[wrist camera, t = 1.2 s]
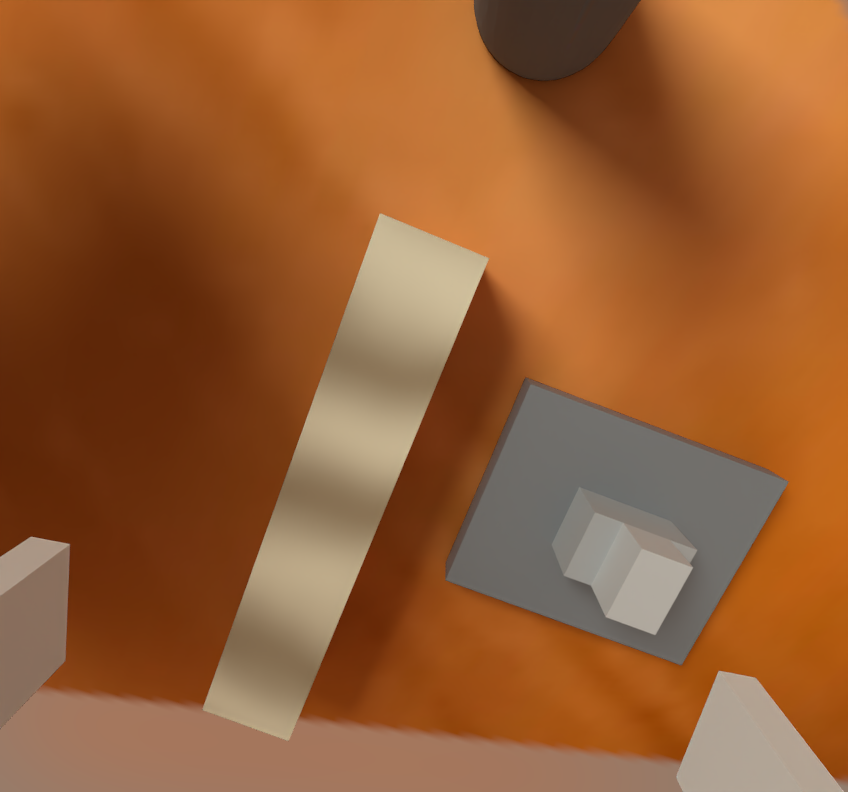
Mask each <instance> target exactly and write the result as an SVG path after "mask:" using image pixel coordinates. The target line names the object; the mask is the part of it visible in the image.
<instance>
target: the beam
mask: <svg viewBox="0 0 848 792" xmlns="http://www.w3.org/2000/svg"><path fill="white" fill-rule="evenodd" d="M488 259H489V258H487V257H485V256H482V255H480V254H477V253H475V252H473V251H470V250H468V249H465V248H463V247H461V246H458V245H456V244H453V243H451V242H448V241H446V240H444V239H441V238H439V237H436V236H434V235H432V234H429V233H427V232H424V231H422V230H420V229H417V228H415V227H412V226H410V225H407V224H405V223H403V222H400V221H398V220H395V219H393V218H391V217H388V216H386V215H383V214H381V213H380V215H379V218H378V220H377V223H376V226H375V229H374V232H373V234H372V237H371V240H370V243H369V246H368V248H367V251H366V254H365V257H364V260H363V262H362V265H361V268H360V271H359V274H358V276H357V279H356V282H355V285H354V287H353V290H352V293H351V296H350V299H349V301H348V304H347V307H346V310H345V313H344V315H343V318H342V321H341V324H340V327H339V329H338V332H337V335H336V338H335V341H334V343H333V346H332V349H331V352H330V354H329V357H328V360H327V363H326V366H325V368H324V371H323V374H322V377H321V380H320V382H319V385H318V388H317V391H316V394H315V396H314V399H313V402H312V405H311V408H310V410H309V413H308V416H307V419H306V422H305V424H304V427H303V430H302V433H301V435H300V438H299V441H298V444H297V447H296V449H295V452H294V455H293V458H292V461H291V463H290V466H289V469H288V472H287V475H286V477H285V480H284V483H283V486H282V489H281V491H280V494H279V497H278V500H277V502H276V505H275V508H274V511H273V514H272V516H271V519H270V522H269V525H268V528H267V530H266V533H265V536H264V539H263V542H262V544H261V547H260V550H259V553H258V556H257V558H256V561H255V564H254V567H253V569H252V572H251V575H250V578H249V581H248V583H247V586H246V589H245V592H244V595H243V597H242V600H241V603H240V606H239V609H238V611H237V614H236V617H235V620H234V623H233V625H232V628H231V631H230V634H229V636H228V639H227V642H226V645H225V648H224V650H223V653H222V656H221V659H220V662H219V664H218V667H217V670H216V673H215V676H214V678H213V681H212V684H211V687H210V690H209V692H208V695H207V698H206V701H205V704H204V706H203V709H202V710H203V711H206V712H209V713H211V714H214V715H217V716H220V717H223V718H225V719H228V720H231V721H234V722H237V723H239V724H242V725H245V726H248V727H250V728H253V729H256V730H259V731H262V732H264V733H267V734H270V735H273V736H276V737H278V738H281V739H284V740H287V741H289V739H290V737H291V735H292V732H293V730H294V727H295V725H296V723H297V720H298V718H299V715H300V713H301V711H302V708H303V706H304V703H305V701H306V698H307V696H308V694H309V691H310V689H311V686H312V684H313V682H314V679H315V677H316V674H317V672H318V670H319V667H320V665H321V662H322V660H323V657H324V655H325V653H326V650H327V648H328V645H329V643H330V641H331V638H332V636H333V633H334V631H335V629H336V626H337V624H338V621H339V619H340V616H341V614H342V612H343V609H344V607H345V604H346V602H347V600H348V597H349V595H350V592H351V590H352V588H353V585H354V583H355V580H356V578H357V575H358V573H359V571H360V568H361V566H362V563H363V561H364V559H365V556H366V554H367V551H368V549H369V547H370V544H371V542H372V539H373V537H374V534H375V532H376V530H377V527H378V525H379V522H380V520H381V518H382V515H383V513H384V510H385V508H386V506H387V503H388V501H389V498H390V496H391V493H392V491H393V489H394V486H395V484H396V481H397V479H398V477H399V474H400V472H401V469H402V467H403V465H404V462H405V460H406V457H407V455H408V452H409V450H410V448H411V445H412V443H413V440H414V438H415V436H416V433H417V431H418V428H419V426H420V423H421V421H422V419H423V416H424V414H425V411H426V409H427V407H428V404H429V402H430V399H431V397H432V395H433V392H434V390H435V387H436V385H437V382H438V380H439V378H440V375H441V373H442V370H443V368H444V366H445V363H446V361H447V358H448V356H449V354H450V351H451V349H452V346H453V344H454V341H455V339H456V337H457V334H458V332H459V329H460V327H461V325H462V322H463V320H464V317H465V315H466V313H467V310H468V308H469V305H470V303H471V300H472V298H473V296H474V293H475V291H476V288H477V286H478V284H479V281H480V279H481V276H482V274H483V272H484V269H485V267H486V264H487V262H488Z"/></svg>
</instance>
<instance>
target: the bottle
mask: <svg viewBox="0 0 848 792" xmlns="http://www.w3.org/2000/svg"><path fill="white" fill-rule="evenodd" d="M639 2H640V0H474V10H475V17H476V21H477V25H478V29H479V33H480V35H481V37H482V39H483V41H484V43H485V45H486V47H487V49H488V50H489V51H490V53H491V54H492V55H493V56H494V58H495V59H496V60H497V61H498V62H499V63H501V64H502V65H503V66H504V67H505V68H507V69H508V70H510V71H511V72H513V73H515V74H517V75H519V76H521V77H524V78H527V79H534V80H556V79H560V78H564V77H567V76H570V75H572V74H574V73H576V72H578V71H580V70H582V69H583V68H585V67H586V66H588V65H589V64H590V63H591V62H593V61H594V60H595V59H596V58H597V57H598V56H599V55H600V54H601V53H602V52H603V51H604V50H605V48H606V47H607V46H608V44H609V43H610V42H611V41H612V39H613V38H614V37H615V35H616V34H617V33H618V31H619V30H620V29H621V27H622V26H623V24H624V23H625V22H626V20H627V19H628V17H629V16H630V14H631V13H632V12H633V10H634V9H635V7H636V6H637V5H638V3H639Z"/></svg>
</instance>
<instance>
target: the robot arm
mask: <svg viewBox="0 0 848 792" xmlns="http://www.w3.org/2000/svg"><path fill="white" fill-rule="evenodd" d="M69 559H70V544H67V543H62V542H57V541H51V540H46V539H41V538H36V537H30V538H28V539H27V540H25V541H24V542H22V543H21V544H19V545H17V546H16V547H14V548H13V549H11V550H10V551H8V552H7V553H5V554H4V555H2V556H1V557H0V729H1V728H2V727H3V726H4V725H5V723H6V722H7V721H8V720H9V719H10V718H11V717H12V716H13V715H14V714H15V713H16V712H17V711H18V710H19V709H20V708H21V707H22V706H23V705H24V704H25V702H26V701H27V700H28V699H29V698H30V697H31V696H32V695H33V694H34V693H35V692H36V691H37V690H38V689H39V688H40V687H41V686H42V685H43V684H44V683H45V682H46V681H47V680H48V678H49V677H50V676H51V675H52V674H53V673H54V672H55V671H56V670H57V669H58V668H59V667H60V666H61V665H62V664H63V663H64V662H65V659H66V634H67V609H68V584H69ZM676 779H677V781H678V783H679V785H680V787H681V789H682V792H844V791H843V790H842V788H841V787H840V786H839V785H838V783H837V782H836V781H835V779H834V778H833V777H832V776H831V774H830V773H829V772H828V770H827V769H826V768H825V767H824V765H823V764H822V763H821V761H820V760H819V759H818V758H817V756H816V755H815V754H814V752H813V751H812V750H811V748H810V747H809V746H808V745H807V743H806V742H805V741H804V739H803V738H802V737H801V736H800V734H799V733H798V732H797V730H796V729H795V728H794V727H793V725H792V724H791V723H790V721H789V720H788V719H787V718H786V716H785V715H784V714H783V712H782V711H781V710H780V709H779V707H778V706H777V705H776V703H775V702H774V701H773V699H772V698H771V697H770V696H769V694H768V693H767V692H766V690H765V689H764V688H763V687H762V685H761V684H760V683H759V681H758V680H757V679H756V678H754V677H749V676H744V675H738V674H733V673H728V672H723V671H719V672H718V674H717V677H716V679H715V682H714V684H713V686H712V689H711V691H710V694H709V696H708V699H707V701H706V704H705V706H704V709H703V711H702V714H701V716H700V718H699V721H698V723H697V726H696V728H695V731H694V733H693V736H692V738H691V741H690V743H689V746H688V748H687V751H686V753H685V755H684V758H683V760H682V763H681V765H680V768H679V770H678V773H677V775H676Z"/></svg>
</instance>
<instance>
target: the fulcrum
mask: <svg viewBox="0 0 848 792" xmlns="http://www.w3.org/2000/svg"><path fill="white" fill-rule="evenodd" d="M787 484H788V481H786V480H785V479H783V478H781V477H780V476H778V475H776V474H775V473H773V472H771V471H770V470H768V469H766V468H763V467H760V466H758V465H755V464H752V463H750V462H747V461H744V460H742V459H739V458H737V457H734V456H731V455H729V454H726V453H723V452H721V451H718V450H715V449H713V448H710V447H708V446H705V445H702V444H700V443H697V442H694V441H692V440H689V439H687V438H684V437H681V436H679V435H676V434H673V433H671V432H668V431H665V430H663V429H660V428H658V427H655V426H652V425H650V424H647V423H644V422H642V421H639V420H637V419H634V418H631V417H629V416H626V415H623V414H621V413H618V412H615V411H613V410H610V409H608V408H605V407H602V406H600V405H597V404H594V403H592V402H589V401H587V400H584V399H581V398H579V397H576V396H573V395H571V394H568V393H565V392H563V391H560V390H558V389H555V388H552V387H550V386H547V385H544V384H542V383H539V382H536V381H534V380H531V379H529V378H526V377H525V380H524V382H523V384H522V387H521V389H520V391H519V394H518V396H517V398H516V401H515V403H514V405H513V408H512V410H511V412H510V415H509V417H508V419H507V422H506V424H505V426H504V429H503V431H502V433H501V435H500V438H499V440H498V442H497V445H496V447H495V449H494V452H493V454H492V456H491V459H490V461H489V463H488V466H487V468H486V470H485V473H484V475H483V477H482V480H481V482H480V484H479V487H478V489H477V491H476V494H475V496H474V498H473V501H472V503H471V505H470V507H469V510H468V512H467V514H466V517H465V519H464V521H463V524H462V526H461V528H460V531H459V533H458V535H457V538H456V540H455V542H454V545H453V547H452V549H451V552H450V554H449V556H448V559H447V561H446V581H449V582H452V583H454V584H457V585H460V586H463V587H465V588H468V589H471V590H474V591H477V592H479V593H482V594H485V595H488V596H490V597H493V598H496V599H499V600H502V601H504V602H507V603H510V604H513V605H515V606H518V607H521V608H524V609H526V610H529V611H532V612H535V613H538V614H540V615H543V616H546V617H549V618H551V619H554V620H557V621H560V622H563V623H565V624H568V625H571V626H574V627H576V628H579V629H582V630H585V631H587V632H590V633H593V634H596V635H599V636H601V637H604V638H607V639H610V640H612V641H615V642H618V643H621V644H624V645H626V646H629V647H632V648H635V649H637V650H640V651H643V652H646V653H649V654H651V655H654V656H657V657H660V658H662V659H665V660H668V661H671V662H673V663H676V664H679V665H682V663H683V662H684V660H685V658H686V657H687V655H688V653H689V651H690V650H691V648H692V646H693V645H694V643H695V641H696V640H697V638H698V636H699V634H700V633H701V631H702V629H703V628H704V626H705V624H706V622H707V621H708V619H709V617H710V616H711V614H712V612H713V610H714V609H715V607H716V605H717V604H718V602H719V600H720V598H721V597H722V595H723V593H724V592H725V590H726V588H727V587H728V585H729V583H730V581H731V580H732V578H733V576H734V575H735V573H736V571H737V569H738V568H739V566H740V564H741V563H742V561H743V559H744V557H745V556H746V554H747V552H748V551H749V549H750V547H751V546H752V544H753V542H754V540H755V539H756V537H757V535H758V534H759V532H760V530H761V528H762V527H763V525H764V523H765V522H766V520H767V518H768V516H769V515H770V513H771V511H772V510H773V508H774V506H775V504H776V503H777V501H778V499H779V498H780V496H781V494H782V493H783V491H784V489H785V487H786V486H787Z"/></svg>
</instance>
